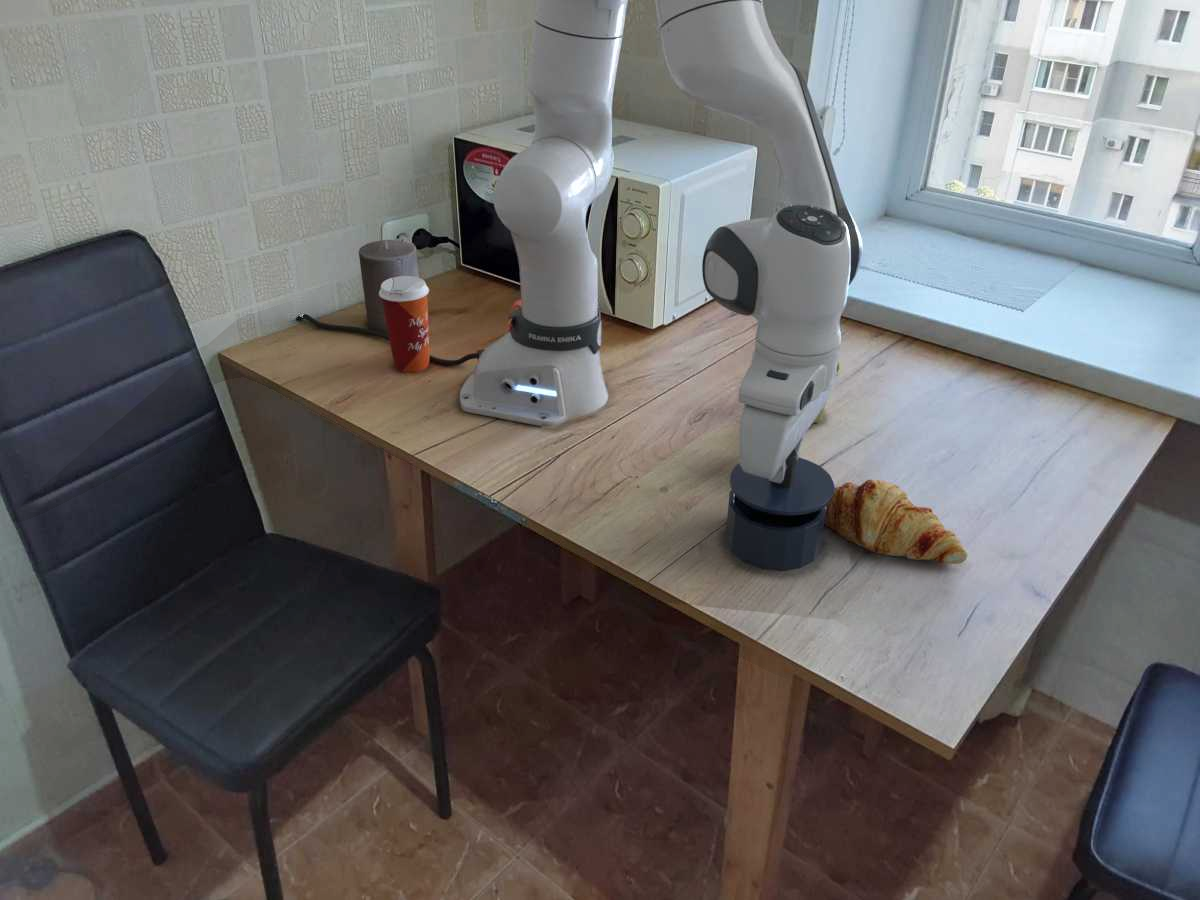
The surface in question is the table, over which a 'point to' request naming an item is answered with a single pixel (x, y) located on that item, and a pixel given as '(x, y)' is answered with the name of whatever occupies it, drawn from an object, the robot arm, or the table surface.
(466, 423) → the table surface
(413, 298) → the paper cup
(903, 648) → the table surface
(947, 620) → the table surface
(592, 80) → the robot arm
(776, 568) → the pot
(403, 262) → the pillar candle
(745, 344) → the table surface
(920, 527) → the croissant
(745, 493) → the lid
